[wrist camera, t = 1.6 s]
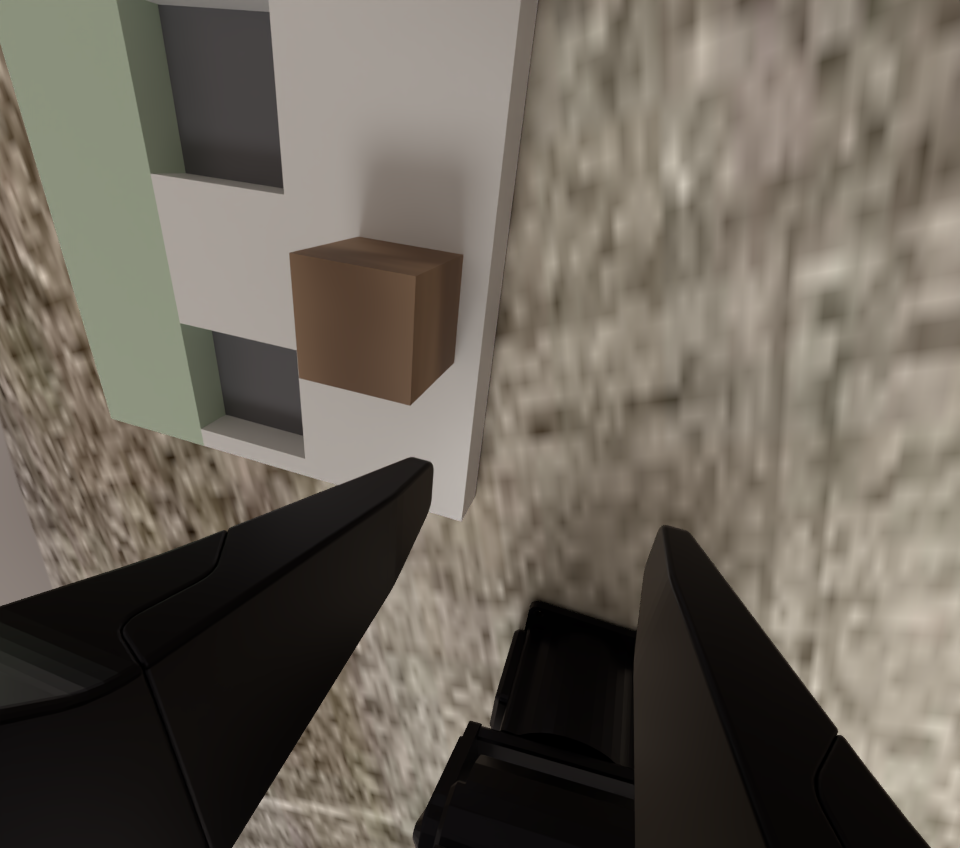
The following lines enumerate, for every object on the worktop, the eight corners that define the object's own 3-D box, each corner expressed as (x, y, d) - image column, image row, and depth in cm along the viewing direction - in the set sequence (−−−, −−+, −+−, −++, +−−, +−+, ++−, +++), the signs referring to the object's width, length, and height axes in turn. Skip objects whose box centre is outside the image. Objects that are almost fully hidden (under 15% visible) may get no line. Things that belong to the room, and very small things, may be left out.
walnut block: (463, 254, 17) (415, 276, 13) (454, 362, 19) (410, 405, 15) (358, 236, 18) (288, 252, 14) (359, 342, 20) (299, 378, 16)
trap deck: (539, -11, 15) (524, -34, 13) (475, 496, 24) (461, 521, 22) (32, -36, 19) (-30, -56, 17) (143, 403, 28) (111, 418, 26)
